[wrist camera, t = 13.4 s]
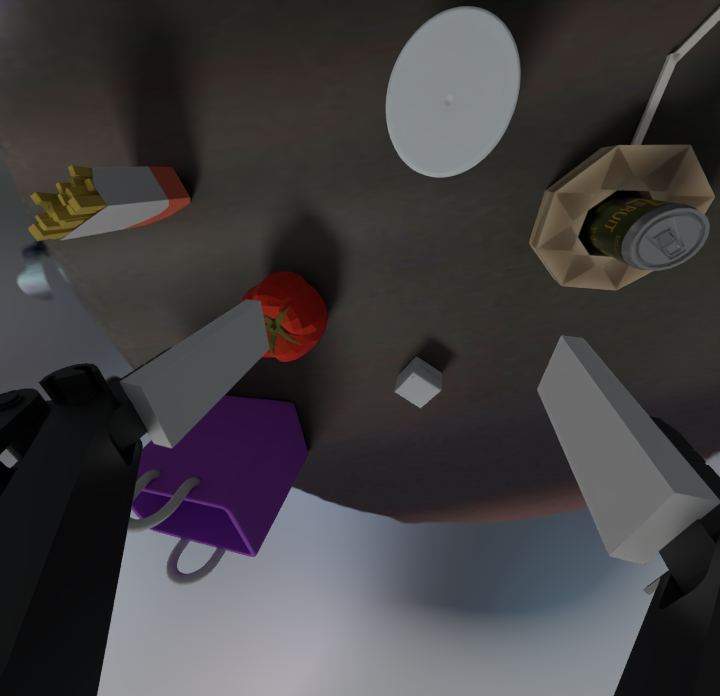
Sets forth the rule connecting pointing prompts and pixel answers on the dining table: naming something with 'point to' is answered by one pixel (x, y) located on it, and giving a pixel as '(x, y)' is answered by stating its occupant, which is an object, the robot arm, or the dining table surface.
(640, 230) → the beer can
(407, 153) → the supplement tub
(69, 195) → the french fries container
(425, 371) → the small box
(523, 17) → the dining table surface
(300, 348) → the tomato
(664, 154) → the tan octagonal bowl
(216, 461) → the shopping bag
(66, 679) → the robot arm
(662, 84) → the drinking straw
